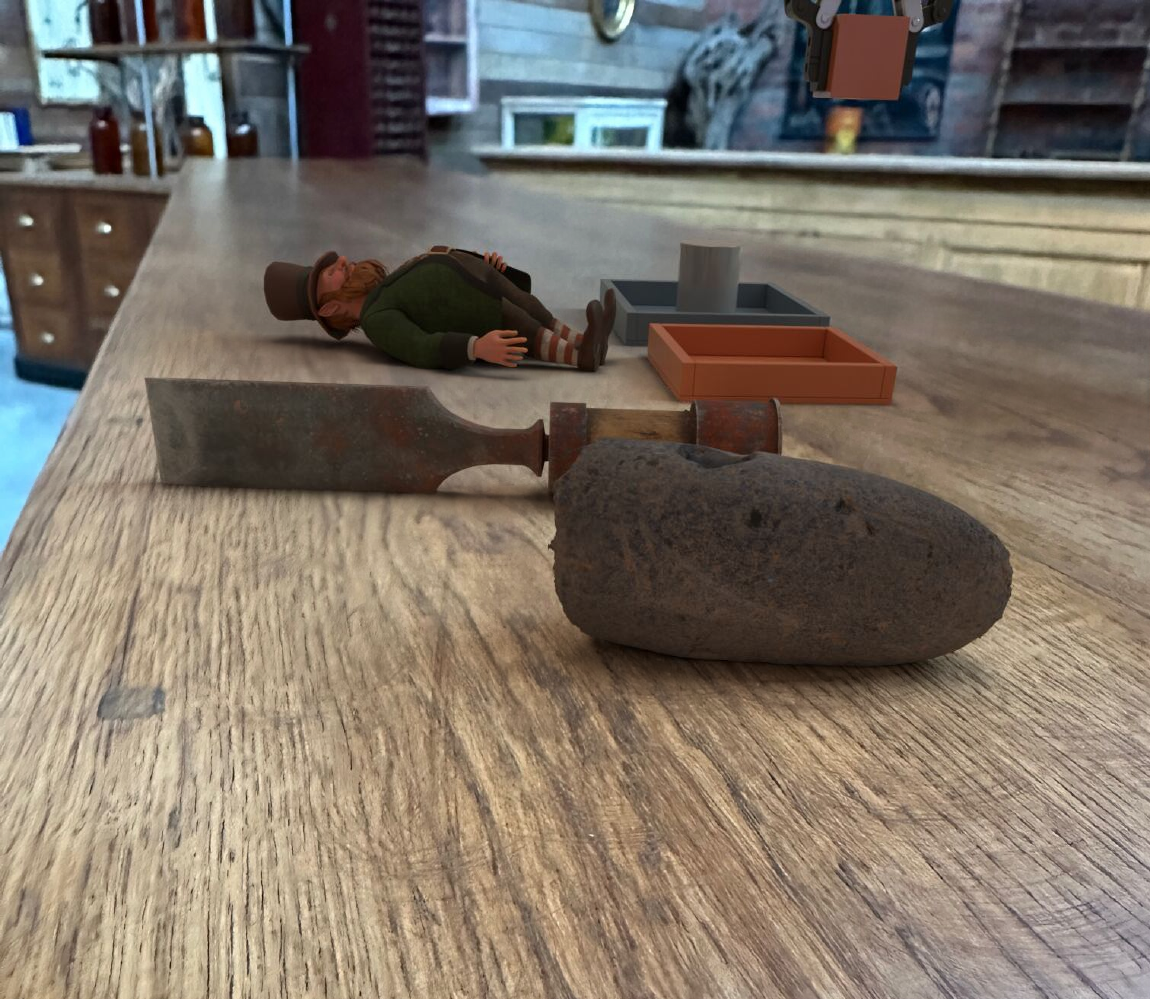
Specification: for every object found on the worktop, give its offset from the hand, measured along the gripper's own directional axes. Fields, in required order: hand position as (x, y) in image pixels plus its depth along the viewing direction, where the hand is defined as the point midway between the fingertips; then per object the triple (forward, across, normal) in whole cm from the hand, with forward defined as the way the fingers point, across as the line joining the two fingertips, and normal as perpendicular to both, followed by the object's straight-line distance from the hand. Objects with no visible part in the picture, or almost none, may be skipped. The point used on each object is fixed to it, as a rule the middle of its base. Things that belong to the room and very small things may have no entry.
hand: (855, 92), depth 83 cm
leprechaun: (+17, -31, -11) cm, 37 cm away
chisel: (+17, -28, -43) cm, 54 cm away
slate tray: (+17, -9, +3) cm, 20 cm away
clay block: (0, 0, 0) cm, 0 cm away
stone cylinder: (+17, -9, +3) cm, 19 cm away
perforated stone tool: (+17, -18, -60) cm, 65 cm away
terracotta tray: (+17, -9, -17) cm, 25 cm away
